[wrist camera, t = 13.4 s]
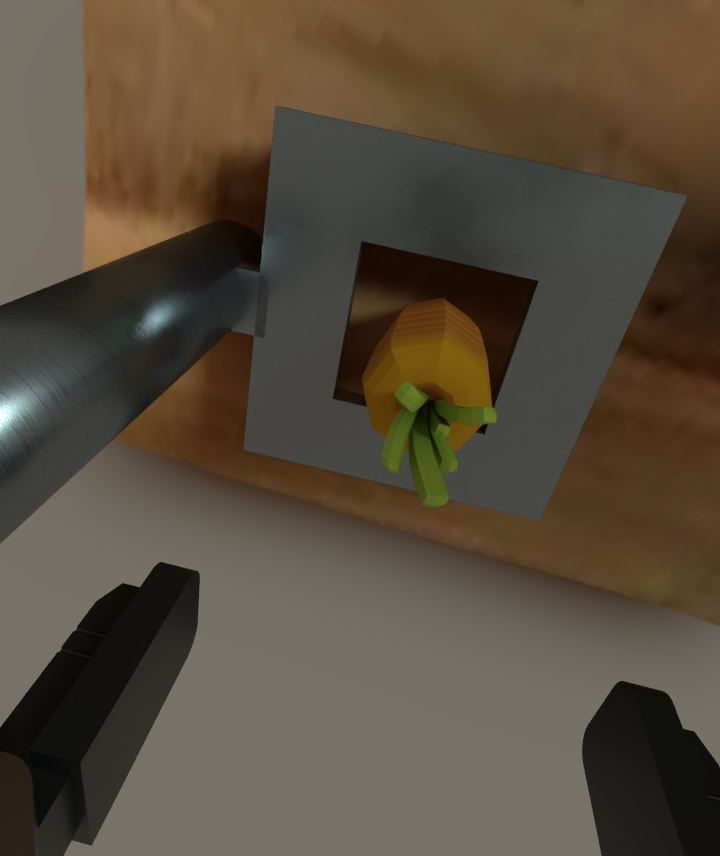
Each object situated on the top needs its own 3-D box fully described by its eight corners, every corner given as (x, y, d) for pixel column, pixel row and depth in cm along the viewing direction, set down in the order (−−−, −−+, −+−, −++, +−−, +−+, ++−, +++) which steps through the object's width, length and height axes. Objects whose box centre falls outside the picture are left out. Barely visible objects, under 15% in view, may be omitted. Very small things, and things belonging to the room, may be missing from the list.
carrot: (399, 256, 28) (352, 369, 15) (495, 278, 28) (533, 413, 15) (379, 346, 30) (323, 511, 17) (466, 367, 30) (477, 550, 17)
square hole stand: (647, 184, 25) (1328, 377, 6) (528, 470, 33) (638, 955, 13) (191, 85, 25) (-596, -47, 6) (183, 389, 33) (-174, 739, 14)
